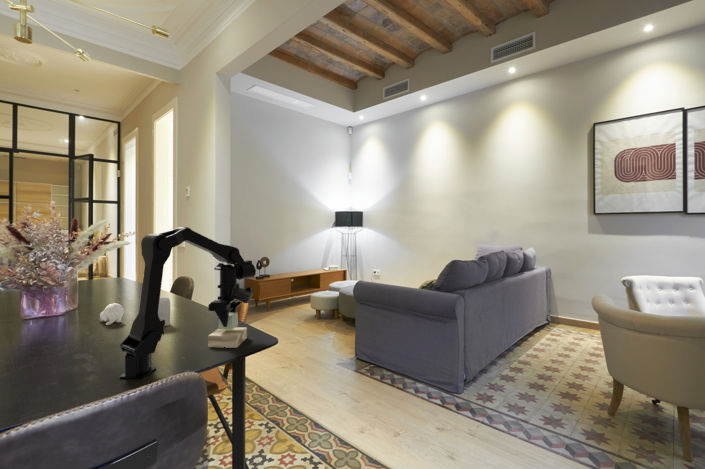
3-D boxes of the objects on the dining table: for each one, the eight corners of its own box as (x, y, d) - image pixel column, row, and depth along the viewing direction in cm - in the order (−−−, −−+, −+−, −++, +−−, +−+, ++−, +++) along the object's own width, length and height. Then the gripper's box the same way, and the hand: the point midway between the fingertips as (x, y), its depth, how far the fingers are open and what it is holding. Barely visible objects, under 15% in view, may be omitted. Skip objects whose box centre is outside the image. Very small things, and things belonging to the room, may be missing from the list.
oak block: (236, 347, 113) (236, 336, 113) (208, 347, 114) (208, 335, 114) (246, 337, 123) (246, 327, 123) (220, 337, 124) (220, 326, 124)
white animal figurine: (108, 305, 135) (93, 304, 141) (109, 326, 135) (94, 324, 141) (124, 302, 141) (110, 301, 146) (126, 322, 140) (111, 320, 146)
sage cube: (232, 329, 116) (232, 315, 116) (218, 329, 116) (218, 315, 116) (237, 325, 121) (237, 312, 121) (224, 325, 121) (224, 311, 121)
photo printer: (170, 323, 141) (169, 294, 140) (170, 325, 137) (170, 296, 137) (141, 327, 135) (141, 297, 135) (141, 329, 131) (141, 299, 131)
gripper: (240, 286, 108) (240, 333, 109) (258, 277, 127) (258, 317, 127) (207, 286, 109) (207, 332, 109) (230, 277, 127) (230, 317, 128)
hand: (228, 324), depth 118 cm, fingers closed on sage cube, 5 cm apart
